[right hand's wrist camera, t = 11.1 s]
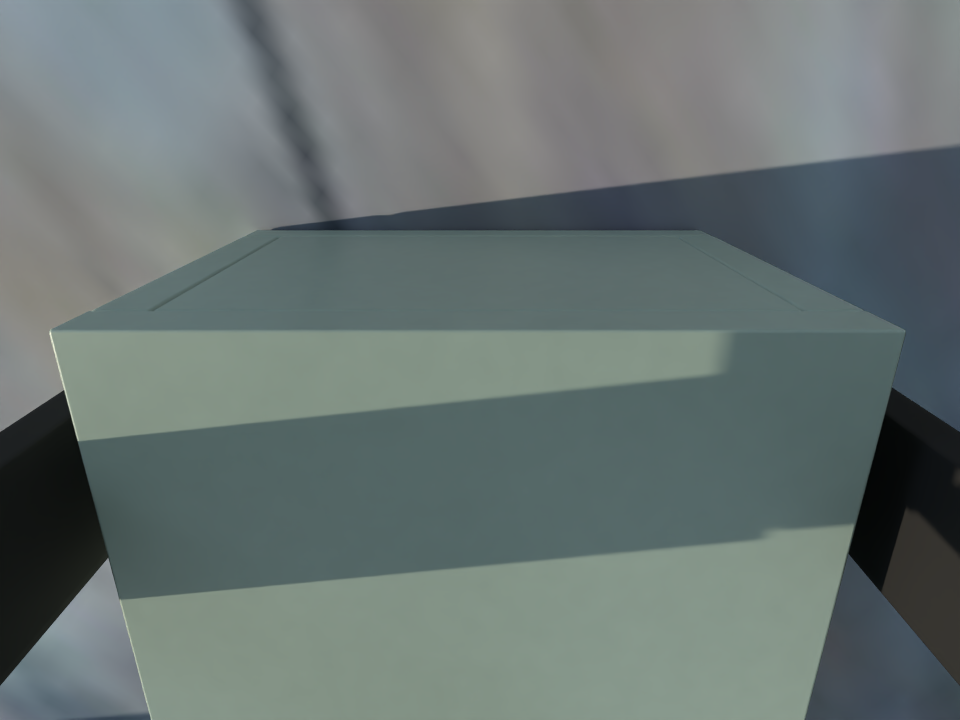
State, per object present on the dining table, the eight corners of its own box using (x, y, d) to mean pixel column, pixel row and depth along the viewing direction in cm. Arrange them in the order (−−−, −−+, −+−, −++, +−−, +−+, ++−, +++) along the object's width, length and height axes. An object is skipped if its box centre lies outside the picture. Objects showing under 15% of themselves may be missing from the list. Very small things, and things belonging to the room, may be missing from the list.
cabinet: (639, 718, 22) (724, 1034, 14) (318, 718, 22) (233, 1034, 14) (702, 229, 16) (907, 329, 8) (255, 229, 16) (46, 329, 8)
